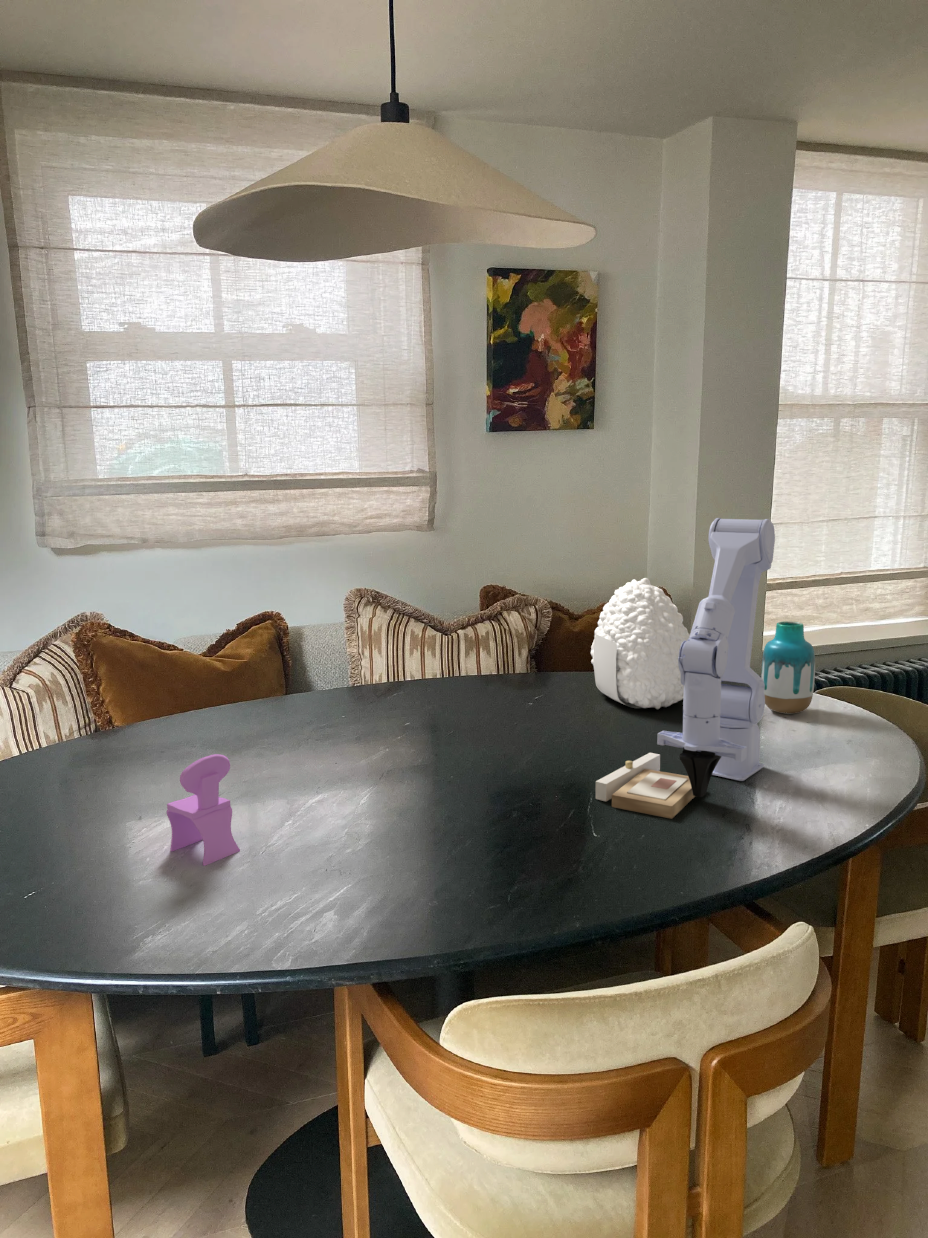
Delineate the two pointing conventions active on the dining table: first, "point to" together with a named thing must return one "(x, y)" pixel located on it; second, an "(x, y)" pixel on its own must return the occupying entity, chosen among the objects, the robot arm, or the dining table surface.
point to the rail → (625, 775)
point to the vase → (788, 669)
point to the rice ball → (639, 647)
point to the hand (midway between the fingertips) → (699, 794)
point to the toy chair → (203, 810)
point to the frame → (654, 793)
